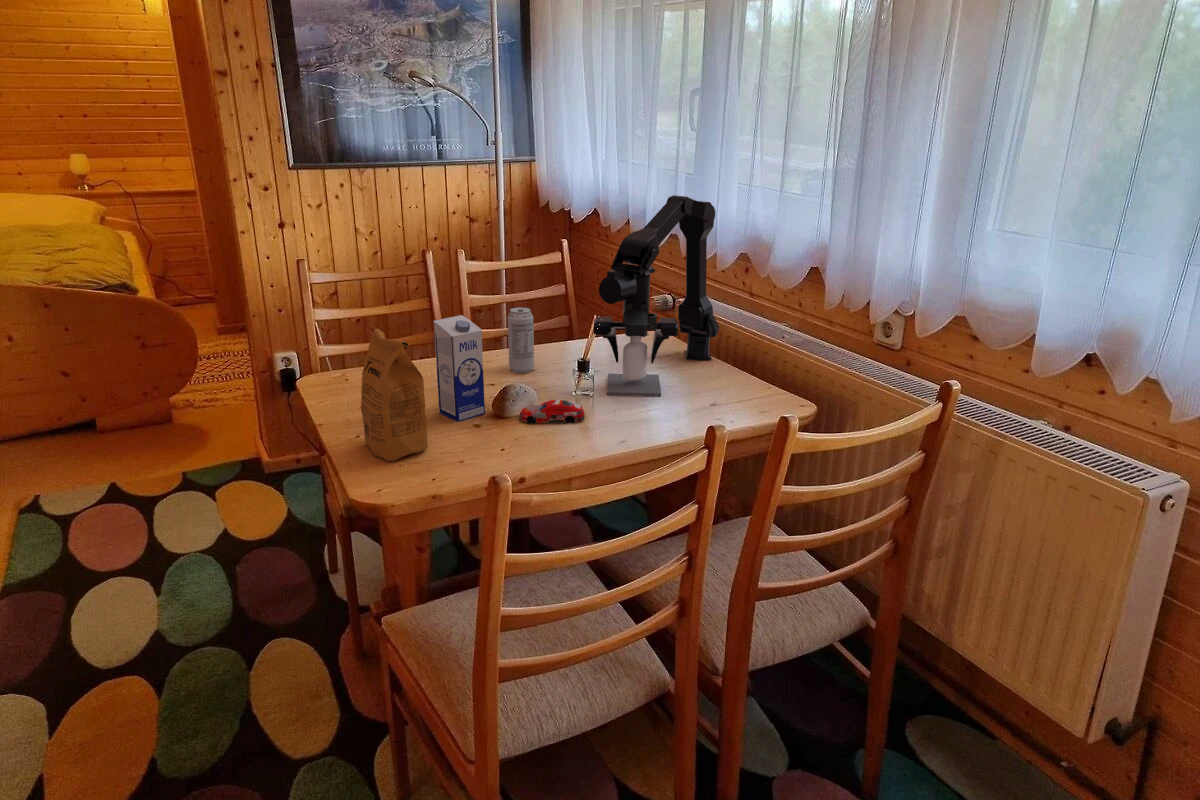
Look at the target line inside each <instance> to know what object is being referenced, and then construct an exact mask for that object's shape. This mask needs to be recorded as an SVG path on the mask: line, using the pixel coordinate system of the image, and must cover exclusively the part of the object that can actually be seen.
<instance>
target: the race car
mask: <svg viewBox="0 0 1200 800" xmlns="http://www.w3.org/2000/svg"><path fill="white" fill-rule="evenodd" d="M519 418H520V420H521V421H522V422H523V423H527V424H528V425H535V424H563V423H566V424H574V423H579V422H582V421H583V420H584V419H585V410H584V408H583V405H582V404H580V403H578V402H573V401H571V400H565V399H551V400H547V401H543V402H542V403H540V404H536V405H535V404H534V405H529V406H526V407H523V408H522V409H521V410H520V413H519Z"/></svg>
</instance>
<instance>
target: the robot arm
mask: <svg viewBox="0 0 1200 800" xmlns="http://www.w3.org/2000/svg"><path fill="white" fill-rule="evenodd" d="M715 218H716V210H715V206H714V205H713V204H712V203H711V202H710V201H702V200H695V199H693V198H691V197H688V196H686V195H685V196H684V195H676V194H675V195H672V196H671V195H670V196H669V197H668V198H667V200H666V202H665V204H664V205H663V206H662V207H661V208H660V209H659V210H658V212H656V214H655V215H654V216H653V217H652V218H651V219H650V221H649V222H647V224H646V225H645V226H644V227H643V228H640V229H638V230H636V231H633V232H631V233H630V234H629V235H626V236H625V237H624V238H623V240H622V241H621V242H620V245H619V247H618V250H617V252H616V255H615V257H614V259H613V261H612V263H611V266H610V270H608V271H606V277H604V278H603V279H602V280H601V282H600V283H599V286H598V293H599V295H600V298H601V299H602V301H603V302H604V303H607V304H610V305H614V304H616V303H620V302H623V304H622V305H623V307H622V308H623V310H622V312H623V313H622V321H621V320H620V321H619V320H617V321H615V320H614V321H612V316H596V317H595V318H594V319H593V335H597V336H598V335H599V336H602V338H603V339H606V340H607V341H608V342H609V345H610V347H611V349H612V352H613V355H614V356H613V357H614V358H615V362H616V364H618V363H619V348H618V339H617V331H624V333H625V334H624V335H625V336H626V337H629V338H630V337H632V336H640V337H641V338H645V337H647V336H648V333H649V332H648V331H654V334H653V342H652V349H651V353H650V356H651V357H650V364H654V362H655V359H656V356H657V354H658V353H659V352H658V351H659V348H660V347H661V345H662V343H663V342H664V340H669V339H670V337H677V336H679V330H680V333H685V334H687V342H686V343H687V344H686V350H684V353H683V354H684V357H685V359H686V360H693V361H694V360H698V361H699V360H700V361H701V360H702V361H711V360H712V359H713V358H712V356H711V352H710V342H711V341H710V340H711V338H716V337H717V336H718V334H719V330H720V325H719V323H718V321H717V319H716V318H715V316H714V309H713V307H714V306H713V304H712V302H711V301H710V299H709V298H708V295H707V251H708V250H707V245H708V244H707V242H708V241H707V239H708V236H709V235H710V233H711V232H712V230H713V228H714V225H715V223H714V222H715ZM677 225H678V227H679V230H680V231H681V233H682V235H683V236H684V239H685V270H686V271H685V273H686V274H685V279H686V280H685V289H686V291H685V293H686V294H685V298H684V299H683V300H682V302H681V303H679V305H678V306H677V309H678V310H677V311H678V316H677V317H678V318H677V319H676V318H675V317H659V321H657V320H658V319H657V318H658V315H657V314H658V313H650V290H651V287H650V286H651V274H654V273H655V272H656V269H655V267H653V266H652V264H653V263H654V262H655V260H656V259H657V257H658V255H659V254H660V245H661V244H662V242H663V241H664V240H665V239H666V237H667V236H668V235H669V234H670V233H671V232H672V231H673V230H674V228H675V227H676V226H677ZM595 319H596V320H595ZM601 319H602V320H601ZM599 324H600V325H599ZM597 328H598V329H597Z"/></svg>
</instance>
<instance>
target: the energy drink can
mask: <svg viewBox="0 0 1200 800" xmlns="http://www.w3.org/2000/svg"><path fill="white" fill-rule="evenodd" d="M531 310H532V309H531V308H529V307H521V306H519V307H513V308H510V309H509V311H510V312H509V313H508V316H507V339H508V341H507V342H508V367H509V369H510V370H511V372H513V373H515V374H528V373H531V372H532V371H533V369H534V367H535V347H534V344H535V343H534V340H535V336H534V315H533V314H532V311H531Z"/></svg>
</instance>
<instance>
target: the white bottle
mask: <svg viewBox="0 0 1200 800" xmlns="http://www.w3.org/2000/svg"><path fill="white" fill-rule="evenodd" d="M629 338H630V339H629V342H627V344H625V345H624V346H623V352H622V354H623V355H622V374H623V378H625V379H627V380H637V379H641V378H644V377H645V376H646V374H647V368H648V367H647V365H648V360H647V359H648V345H647V343H645V342H643V341H642V337H640V336H632V337H629Z"/></svg>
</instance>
